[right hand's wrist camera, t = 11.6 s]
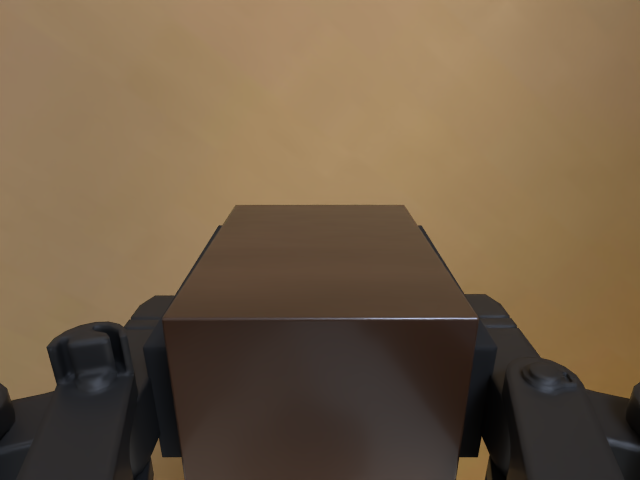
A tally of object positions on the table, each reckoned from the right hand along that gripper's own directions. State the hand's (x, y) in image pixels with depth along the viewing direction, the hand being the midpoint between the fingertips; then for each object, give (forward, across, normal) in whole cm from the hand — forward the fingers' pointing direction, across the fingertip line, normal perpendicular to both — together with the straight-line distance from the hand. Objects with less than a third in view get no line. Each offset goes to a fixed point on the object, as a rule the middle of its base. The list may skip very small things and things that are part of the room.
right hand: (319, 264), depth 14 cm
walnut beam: (-1, 0, -15) cm, 15 cm away
